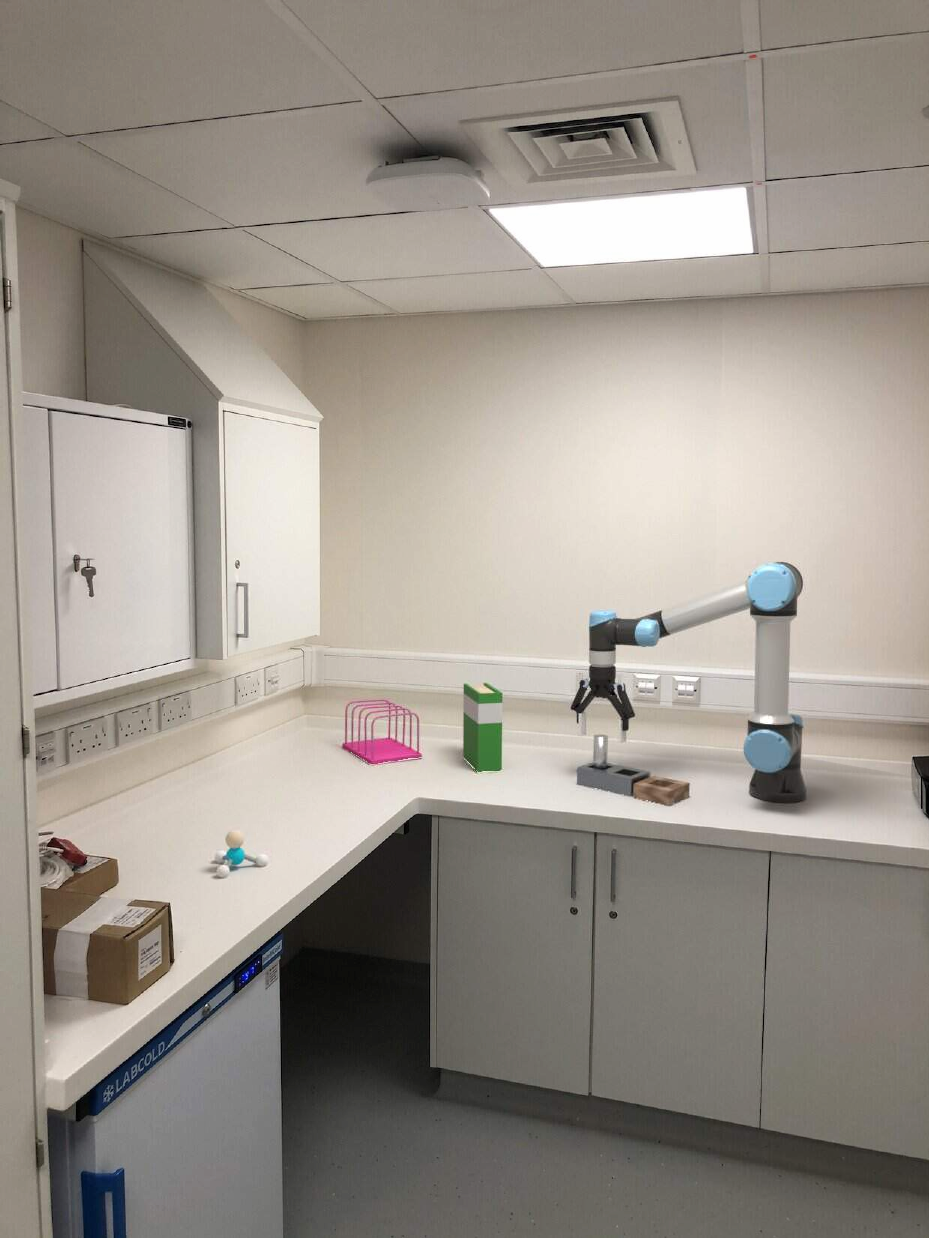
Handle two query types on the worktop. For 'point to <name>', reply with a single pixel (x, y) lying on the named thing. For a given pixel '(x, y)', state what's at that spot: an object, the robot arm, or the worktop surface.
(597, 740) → the silver metal cylinder
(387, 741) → the file sorter
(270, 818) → the worktop surface
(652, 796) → the walnut socket block
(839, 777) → the worktop surface
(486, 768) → the hardback book
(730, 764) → the worktop surface
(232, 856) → the molecule model
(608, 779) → the block
